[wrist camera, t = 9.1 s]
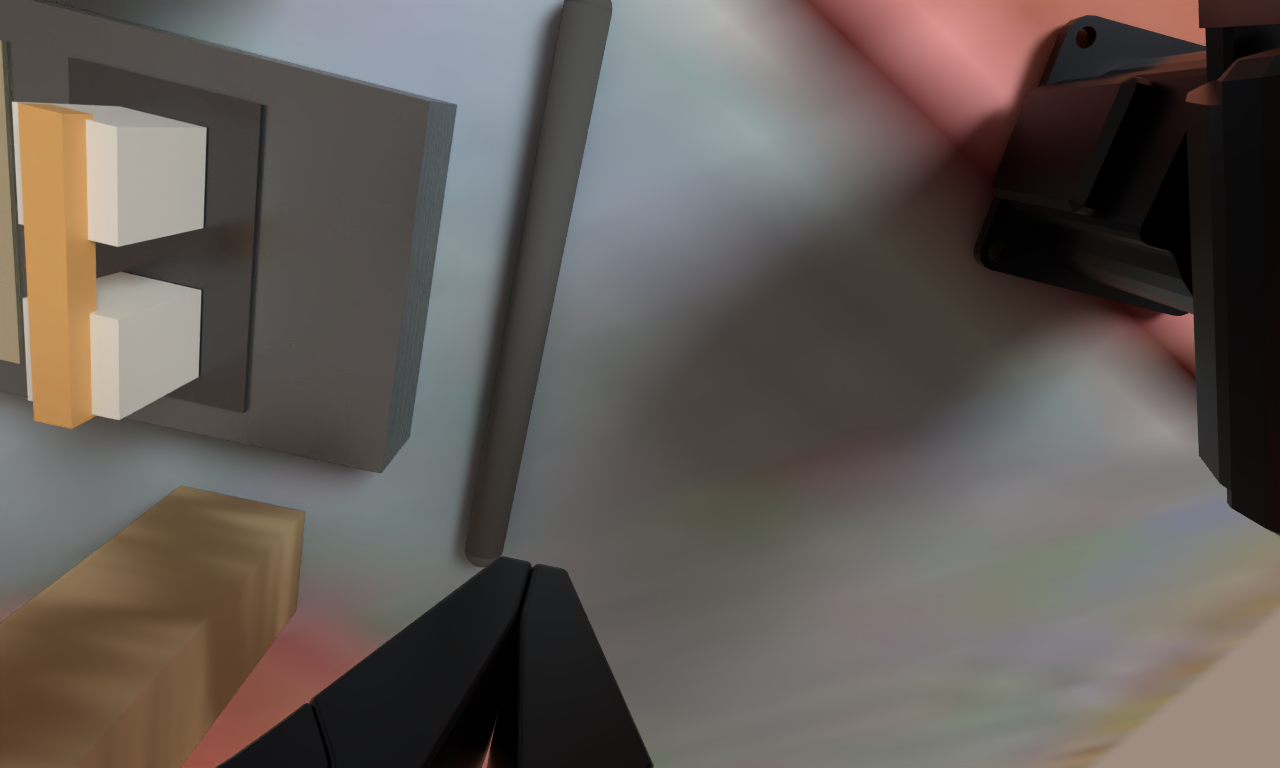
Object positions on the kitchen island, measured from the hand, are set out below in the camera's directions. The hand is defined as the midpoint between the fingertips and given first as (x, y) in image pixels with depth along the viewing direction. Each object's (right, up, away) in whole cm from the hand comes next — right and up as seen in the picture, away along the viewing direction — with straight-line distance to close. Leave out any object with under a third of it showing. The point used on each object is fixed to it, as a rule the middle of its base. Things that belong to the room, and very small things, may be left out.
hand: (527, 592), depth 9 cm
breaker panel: (-11, +7, +12) cm, 17 cm away
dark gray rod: (-2, +5, +12) cm, 13 cm away
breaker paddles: (-11, +6, +9) cm, 15 cm away
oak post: (-12, -3, +15) cm, 19 cm away
